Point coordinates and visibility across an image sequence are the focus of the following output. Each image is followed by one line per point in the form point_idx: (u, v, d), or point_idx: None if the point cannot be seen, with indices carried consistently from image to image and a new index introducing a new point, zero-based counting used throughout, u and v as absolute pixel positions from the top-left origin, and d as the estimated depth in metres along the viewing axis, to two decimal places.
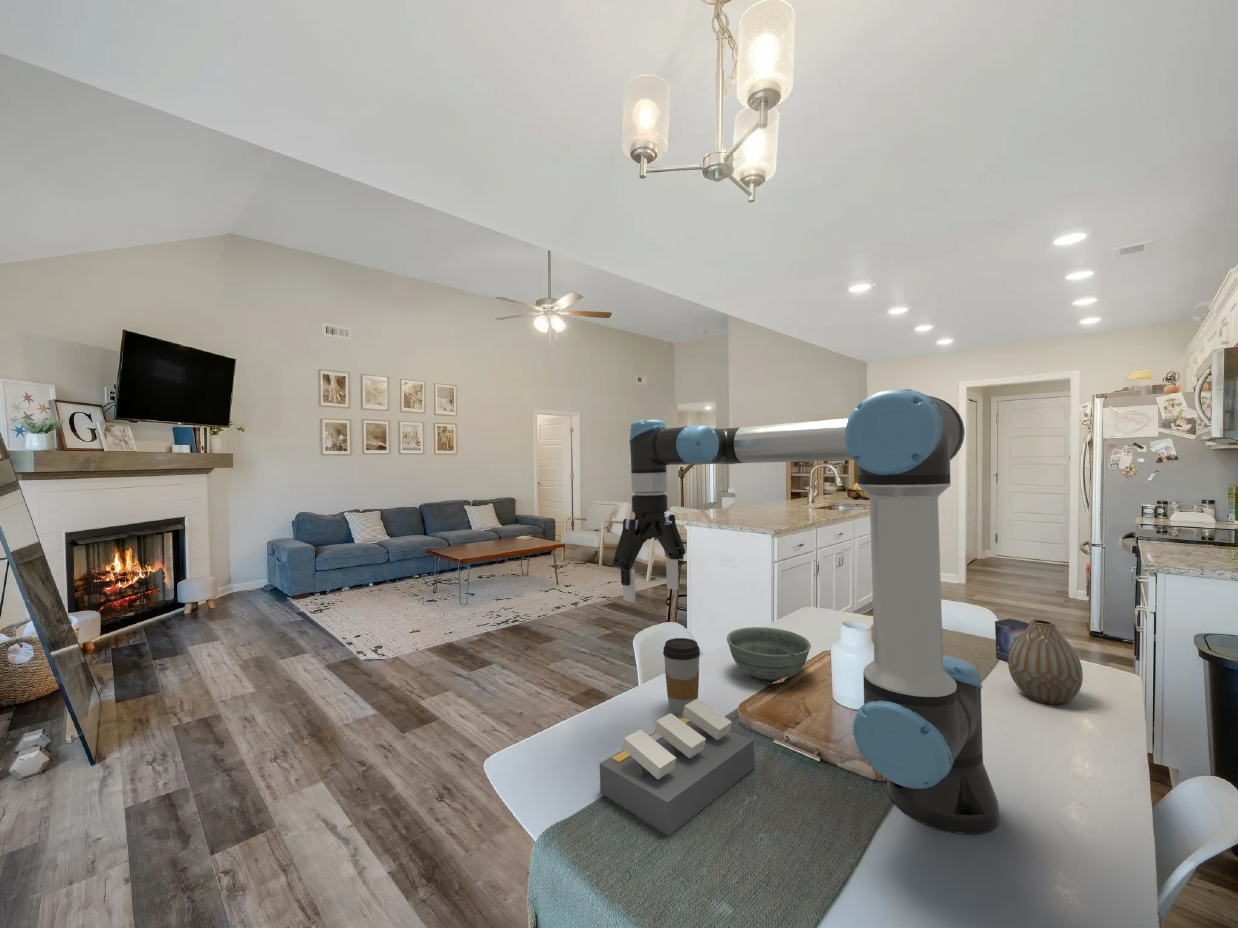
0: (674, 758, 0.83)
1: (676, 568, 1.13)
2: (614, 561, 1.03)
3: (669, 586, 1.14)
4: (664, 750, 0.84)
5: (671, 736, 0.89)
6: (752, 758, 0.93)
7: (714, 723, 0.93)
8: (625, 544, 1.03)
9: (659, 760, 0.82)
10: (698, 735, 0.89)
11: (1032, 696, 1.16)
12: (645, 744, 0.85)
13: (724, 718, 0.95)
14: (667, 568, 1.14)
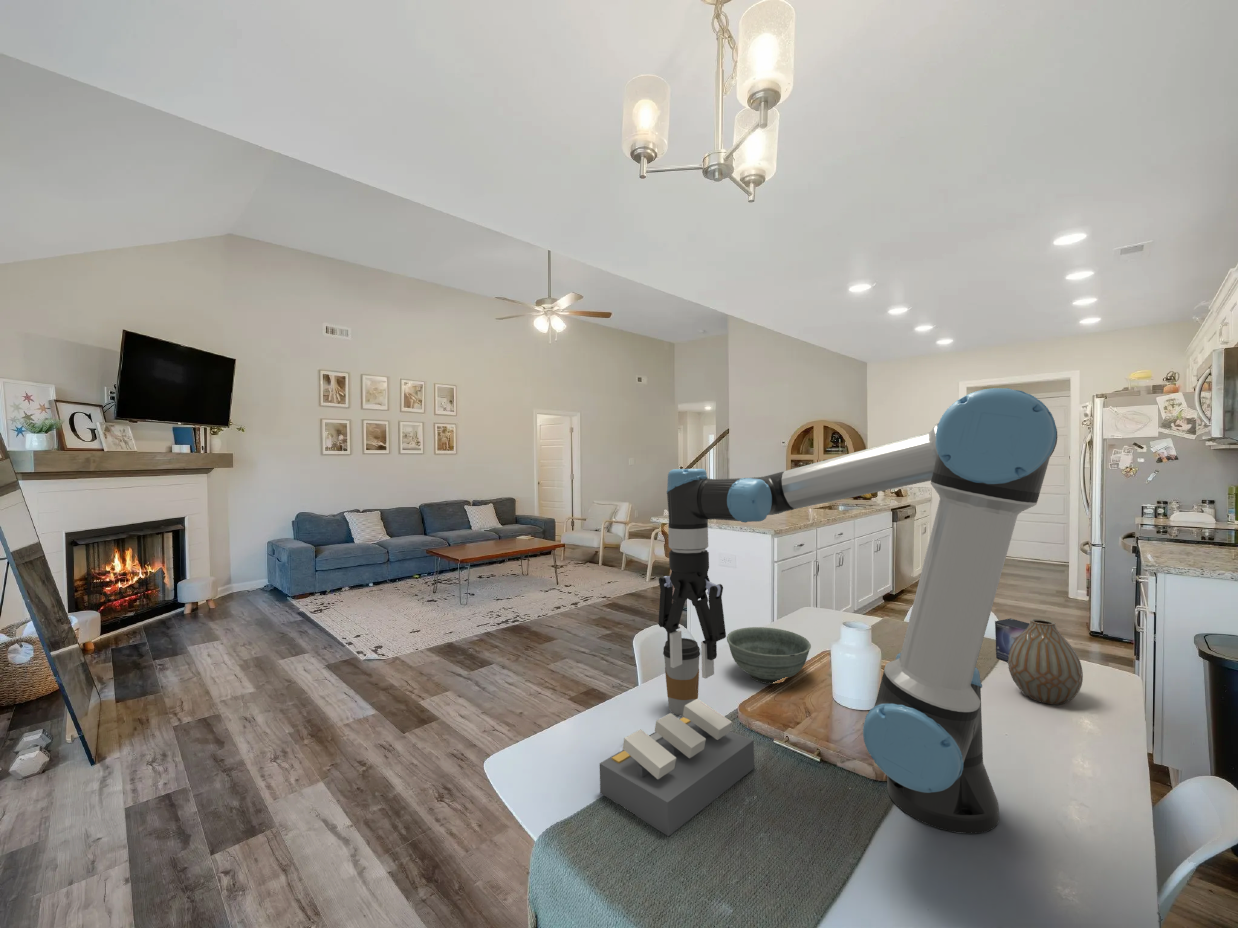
0: (674, 758, 0.83)
1: (702, 652, 0.95)
2: None
3: None
4: (664, 750, 0.84)
5: (671, 736, 0.89)
6: (752, 758, 0.93)
7: (714, 723, 0.93)
8: None
9: (659, 760, 0.82)
10: (698, 735, 0.89)
11: (1032, 696, 1.16)
12: (645, 744, 0.85)
13: (724, 718, 0.95)
14: None
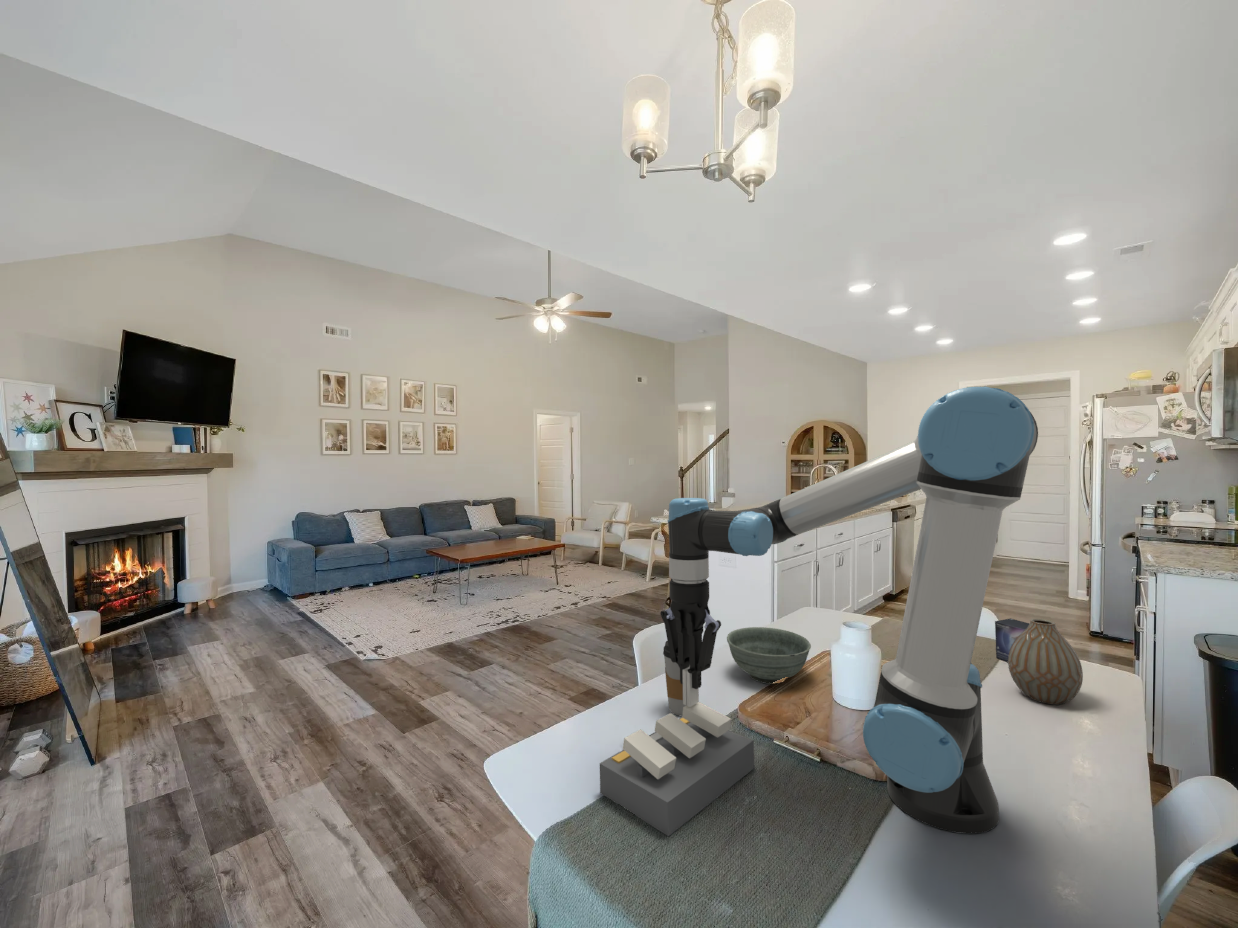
0: (674, 758, 0.83)
1: (687, 681, 0.97)
2: None
3: None
4: (664, 750, 0.84)
5: (671, 736, 0.89)
6: (752, 758, 0.93)
7: (713, 721, 0.93)
8: None
9: (659, 760, 0.82)
10: (698, 735, 0.89)
11: (1032, 696, 1.16)
12: (645, 744, 0.85)
13: (723, 716, 0.95)
14: None
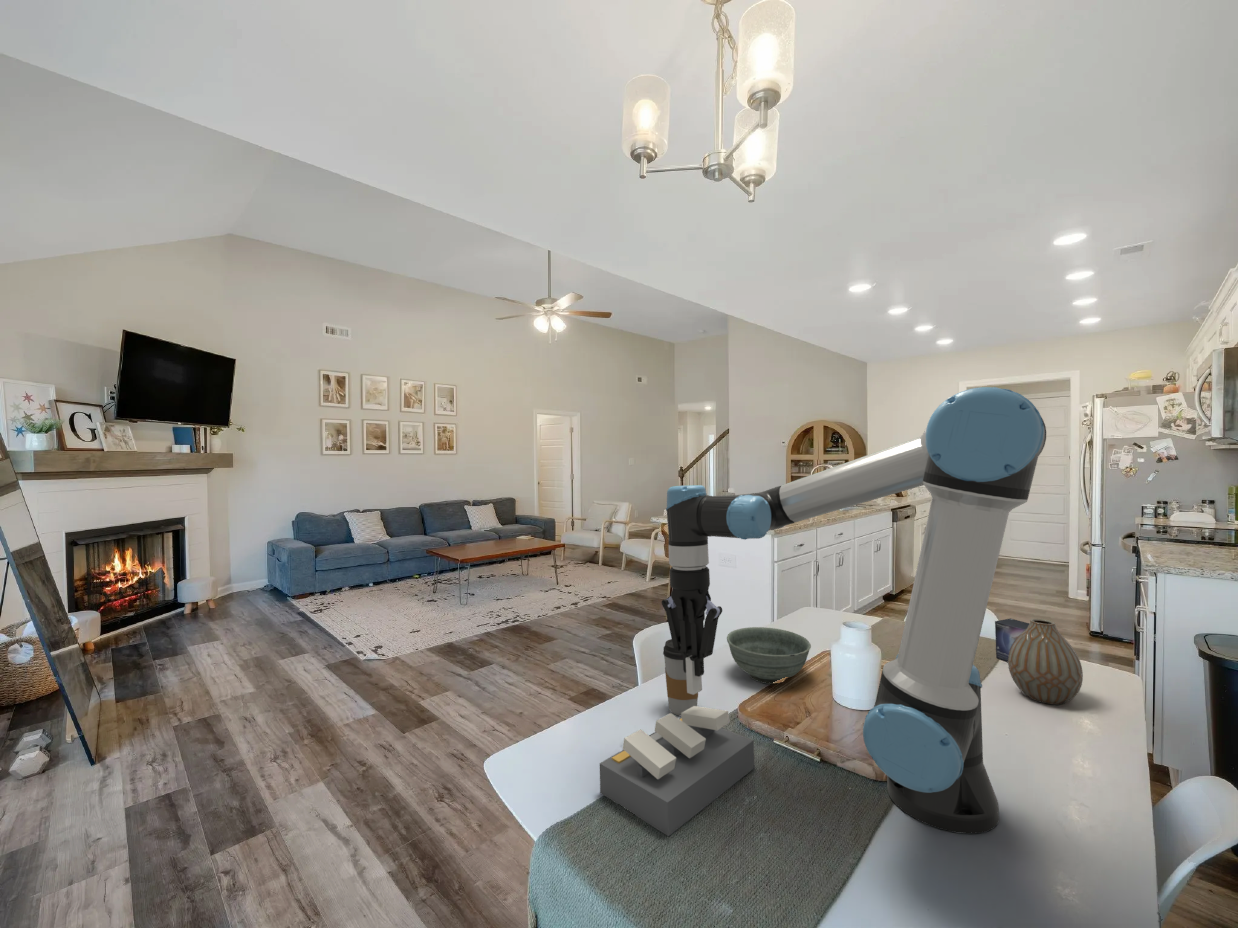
0: (674, 758, 0.83)
1: (690, 669, 0.97)
2: None
3: None
4: (664, 750, 0.84)
5: (671, 736, 0.89)
6: (752, 758, 0.93)
7: (710, 716, 0.94)
8: None
9: (659, 760, 0.82)
10: (698, 735, 0.89)
11: (1032, 696, 1.16)
12: (645, 744, 0.85)
13: (720, 710, 0.96)
14: None
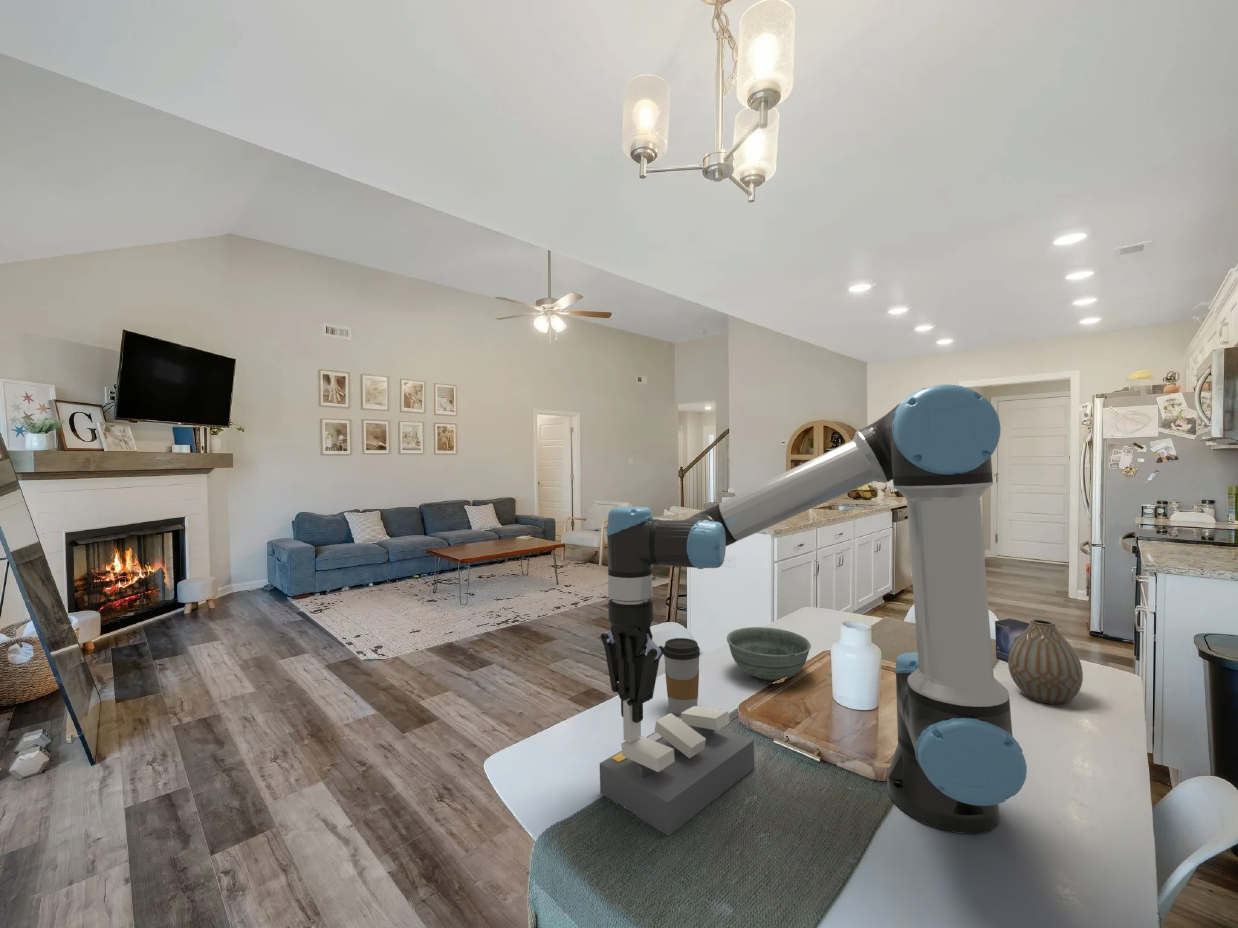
0: (672, 749, 0.83)
1: (627, 714, 0.86)
2: None
3: None
4: (661, 745, 0.85)
5: (671, 736, 0.89)
6: (752, 758, 0.93)
7: (710, 716, 0.94)
8: None
9: (656, 753, 0.82)
10: (698, 735, 0.89)
11: (1032, 696, 1.16)
12: (642, 744, 0.86)
13: (720, 710, 0.96)
14: None
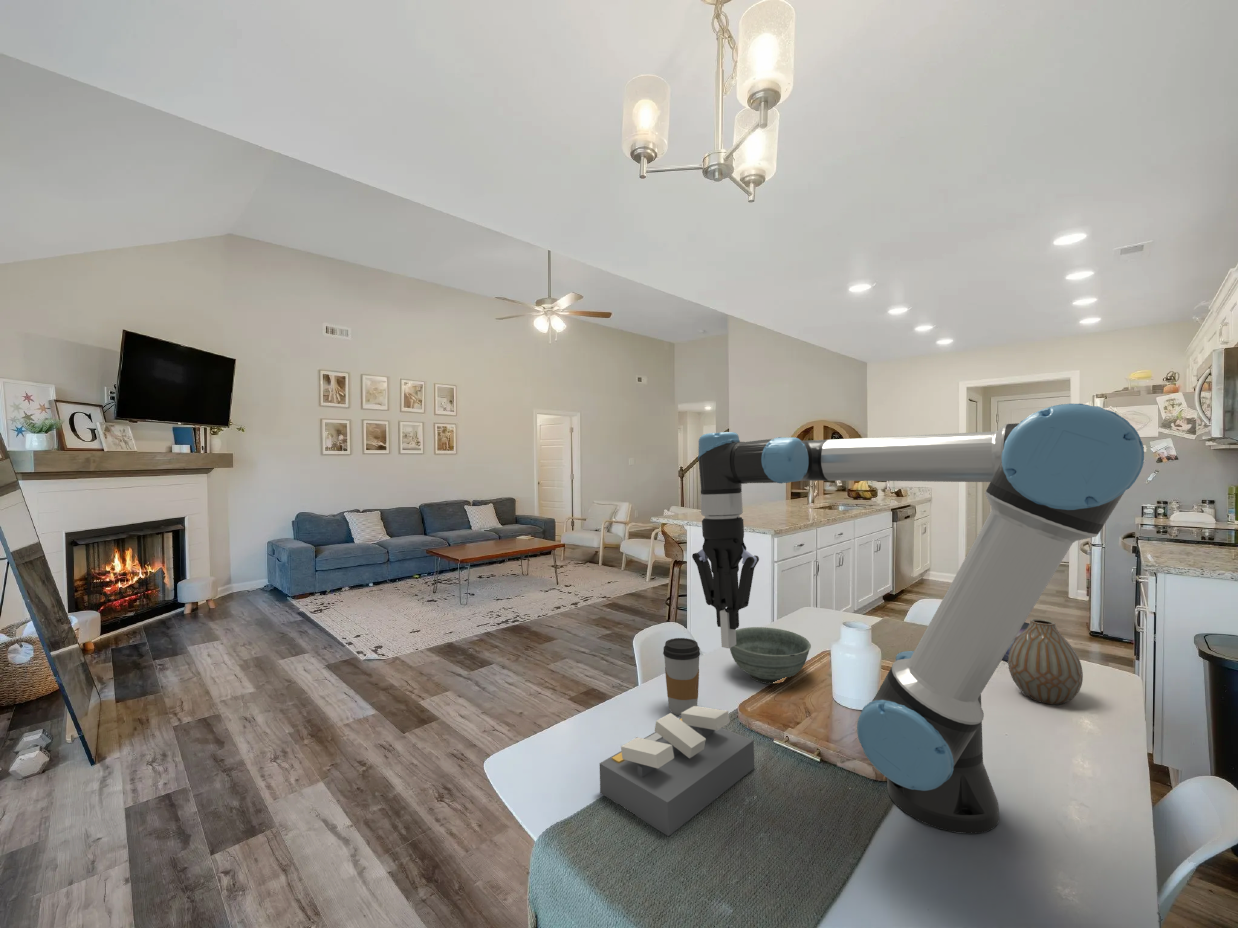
0: (670, 746, 0.84)
1: (725, 622, 0.94)
2: None
3: None
4: (660, 743, 0.85)
5: (671, 736, 0.89)
6: (752, 758, 0.93)
7: (710, 716, 0.94)
8: None
9: (655, 750, 0.83)
10: (698, 735, 0.89)
11: (1032, 696, 1.16)
12: (641, 744, 0.86)
13: (720, 710, 0.96)
14: None
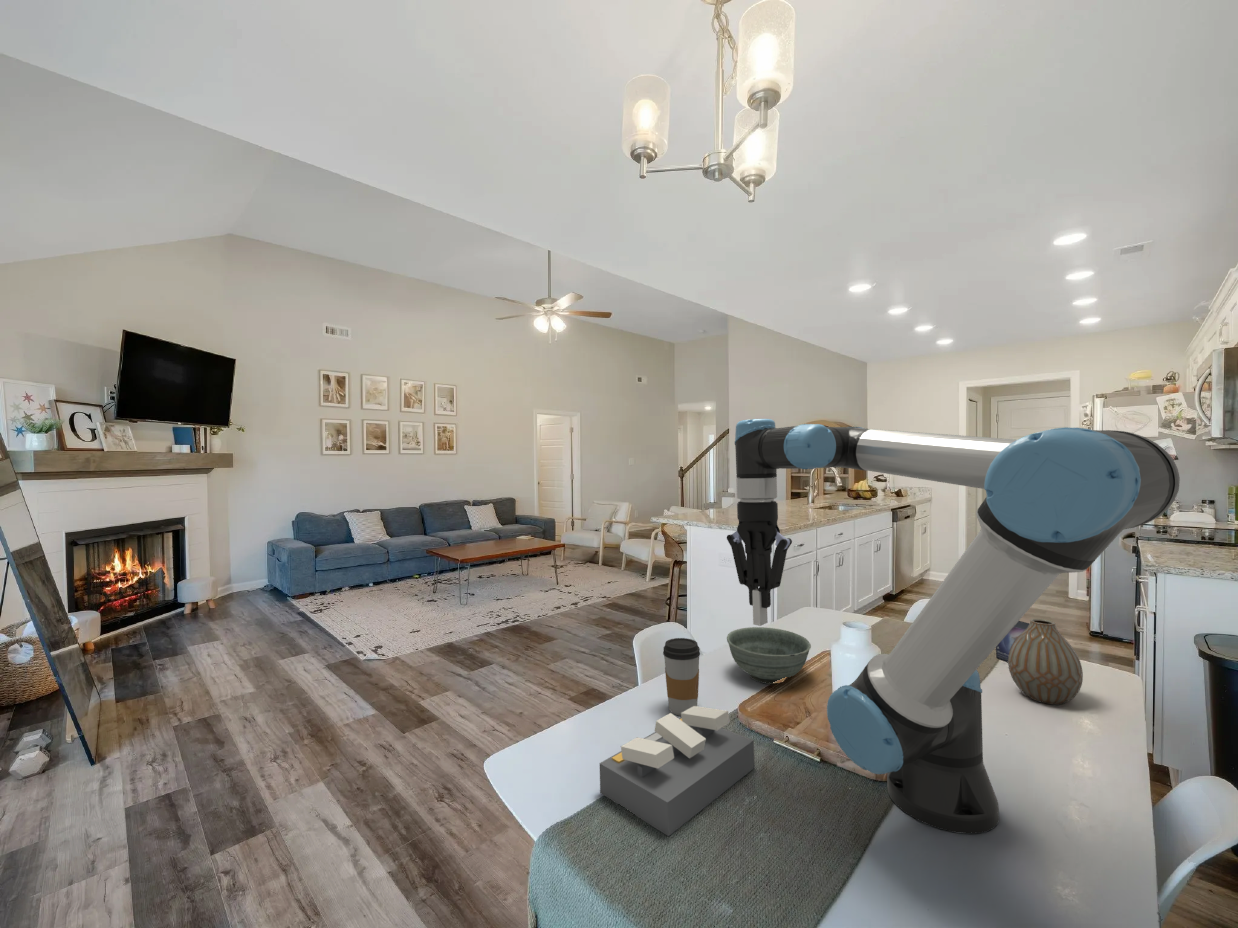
0: (670, 746, 0.84)
1: (757, 601, 0.98)
2: None
3: None
4: (660, 743, 0.85)
5: (671, 736, 0.89)
6: (752, 758, 0.93)
7: (710, 716, 0.94)
8: None
9: (655, 750, 0.83)
10: (698, 735, 0.89)
11: (1032, 696, 1.16)
12: (641, 744, 0.86)
13: (720, 710, 0.96)
14: None
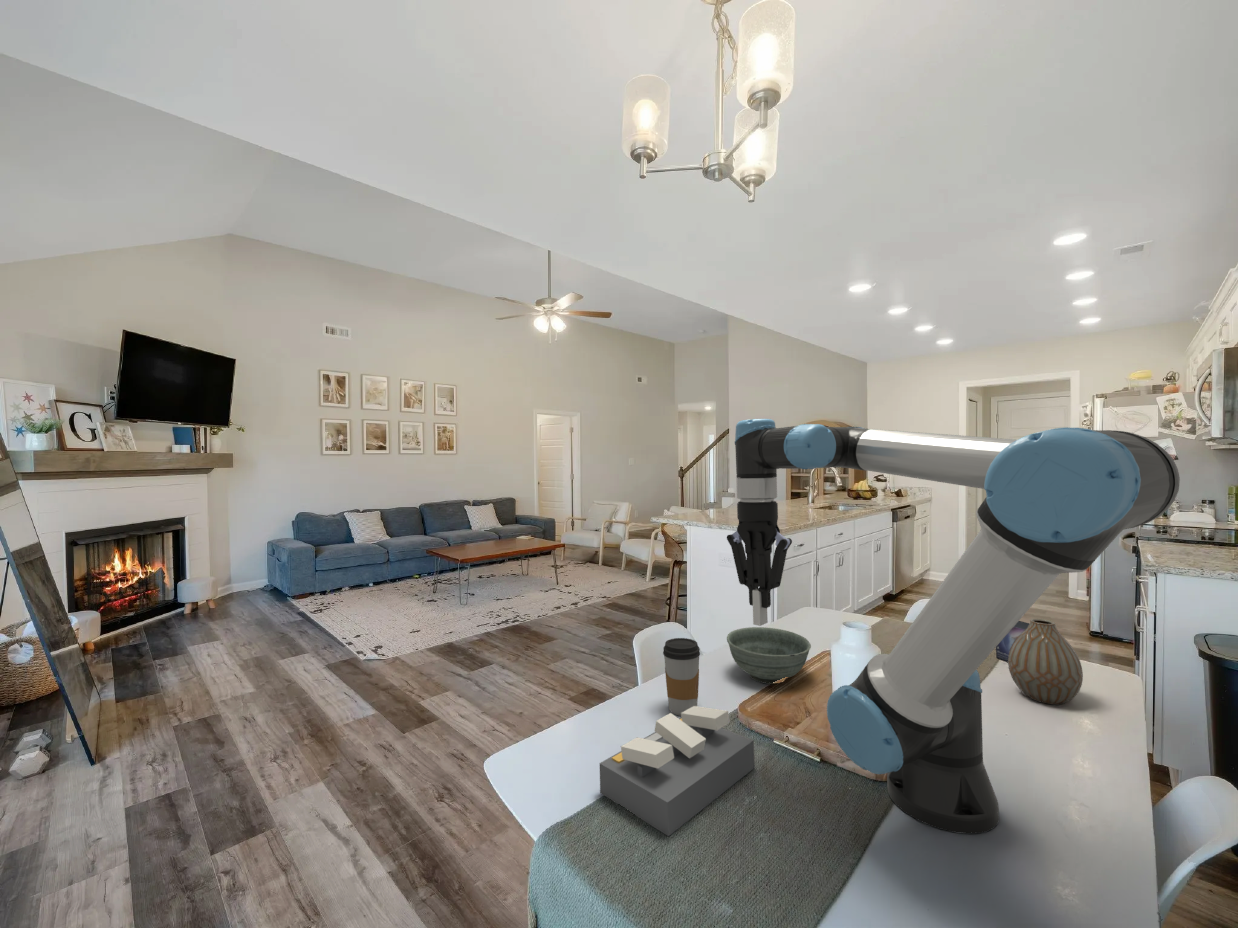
0: (670, 746, 0.84)
1: (757, 600, 0.98)
2: None
3: None
4: (660, 743, 0.85)
5: (671, 736, 0.89)
6: (752, 758, 0.93)
7: (710, 716, 0.94)
8: None
9: (655, 750, 0.83)
10: (698, 735, 0.89)
11: (1032, 696, 1.16)
12: (641, 744, 0.86)
13: (720, 710, 0.96)
14: None
